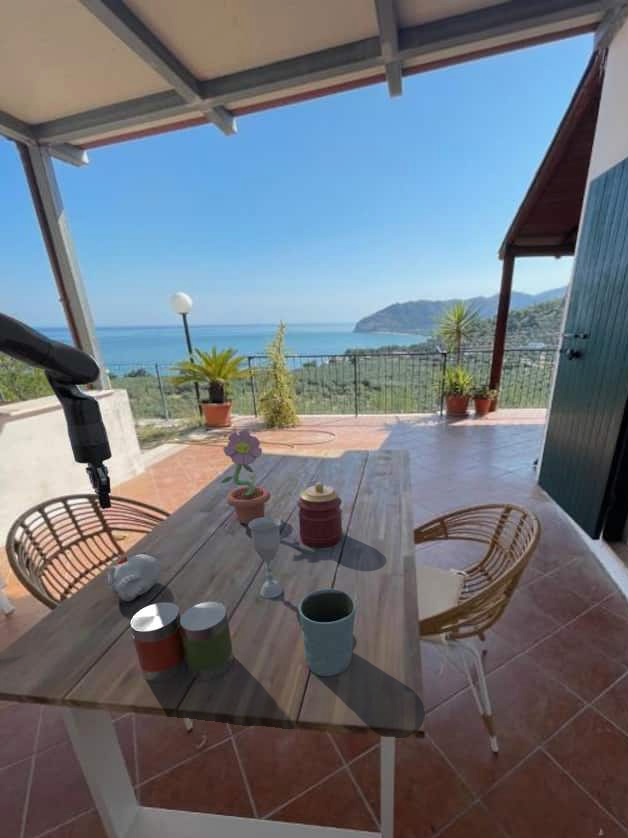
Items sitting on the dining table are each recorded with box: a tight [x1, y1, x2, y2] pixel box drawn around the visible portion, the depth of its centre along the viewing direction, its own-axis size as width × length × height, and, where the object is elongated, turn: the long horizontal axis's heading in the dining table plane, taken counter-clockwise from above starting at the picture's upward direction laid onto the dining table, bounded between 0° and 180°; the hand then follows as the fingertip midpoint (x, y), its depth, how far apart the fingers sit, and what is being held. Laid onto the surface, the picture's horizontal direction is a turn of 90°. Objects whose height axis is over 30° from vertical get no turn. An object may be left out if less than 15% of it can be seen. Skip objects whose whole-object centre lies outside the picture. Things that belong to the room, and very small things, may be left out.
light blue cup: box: [298, 588, 357, 677], centre depth 71 cm, size 10×10×12 cm
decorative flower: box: [220, 430, 271, 525], centre depth 125 cm, size 15×14×30 cm
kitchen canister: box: [297, 482, 343, 548], centre depth 115 cm, size 13×13×18 cm
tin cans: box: [130, 601, 234, 683], centre depth 70 cm, size 16×8×11 cm, turn 91°
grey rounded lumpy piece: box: [107, 552, 160, 602], centre depth 93 cm, size 9×11×15 cm
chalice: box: [247, 516, 283, 599], centre depth 90 cm, size 7×7×18 cm
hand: (105, 507), depth 98 cm, fingers closed
